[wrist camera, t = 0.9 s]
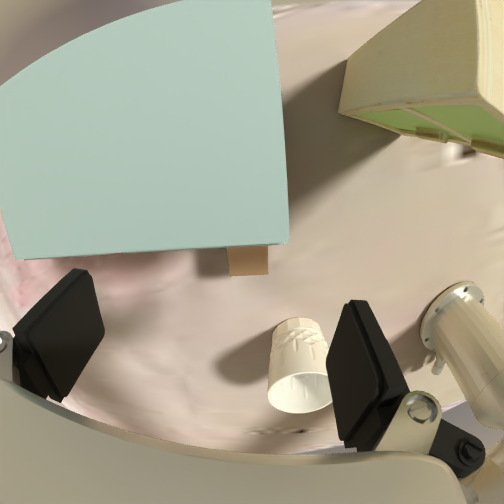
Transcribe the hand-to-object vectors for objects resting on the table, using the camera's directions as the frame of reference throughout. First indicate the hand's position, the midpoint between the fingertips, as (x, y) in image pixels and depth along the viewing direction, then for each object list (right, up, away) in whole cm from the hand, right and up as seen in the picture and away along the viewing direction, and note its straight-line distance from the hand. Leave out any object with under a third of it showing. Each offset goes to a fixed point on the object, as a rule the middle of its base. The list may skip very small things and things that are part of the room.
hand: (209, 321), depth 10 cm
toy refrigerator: (+14, +18, +14) cm, 27 cm away
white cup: (+8, -9, +27) cm, 29 cm away
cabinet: (-5, +14, +17) cm, 22 cm away
